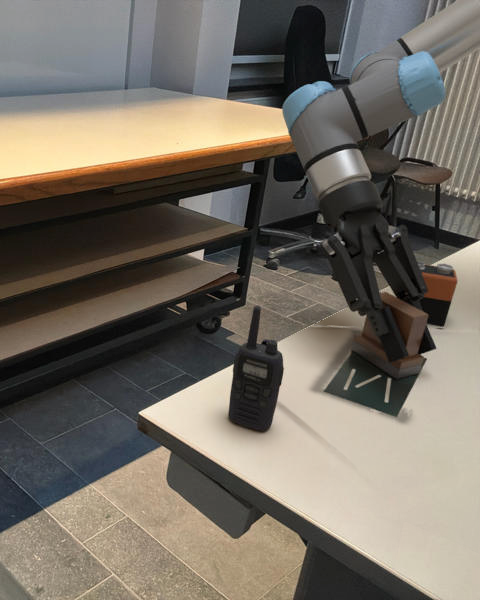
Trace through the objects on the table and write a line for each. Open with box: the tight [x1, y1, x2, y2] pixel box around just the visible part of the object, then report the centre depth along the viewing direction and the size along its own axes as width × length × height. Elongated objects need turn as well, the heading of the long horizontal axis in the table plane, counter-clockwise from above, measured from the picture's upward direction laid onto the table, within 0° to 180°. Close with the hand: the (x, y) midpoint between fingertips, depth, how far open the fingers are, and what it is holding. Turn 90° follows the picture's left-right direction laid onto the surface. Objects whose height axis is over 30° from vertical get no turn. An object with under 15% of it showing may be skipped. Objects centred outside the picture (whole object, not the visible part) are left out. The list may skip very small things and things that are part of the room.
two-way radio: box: [227, 305, 285, 432], centre depth 76 cm, size 6×4×15 cm
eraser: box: [350, 291, 428, 379], centre depth 88 cm, size 8×4×8 cm, turn 24°
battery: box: [405, 260, 459, 330], centre depth 99 cm, size 4×7×10 cm, turn 68°
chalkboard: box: [323, 350, 428, 418], centre depth 87 cm, size 18×10×1 cm, turn 144°
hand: (412, 355), depth 85 cm, fingers closed on eraser, 4 cm apart
